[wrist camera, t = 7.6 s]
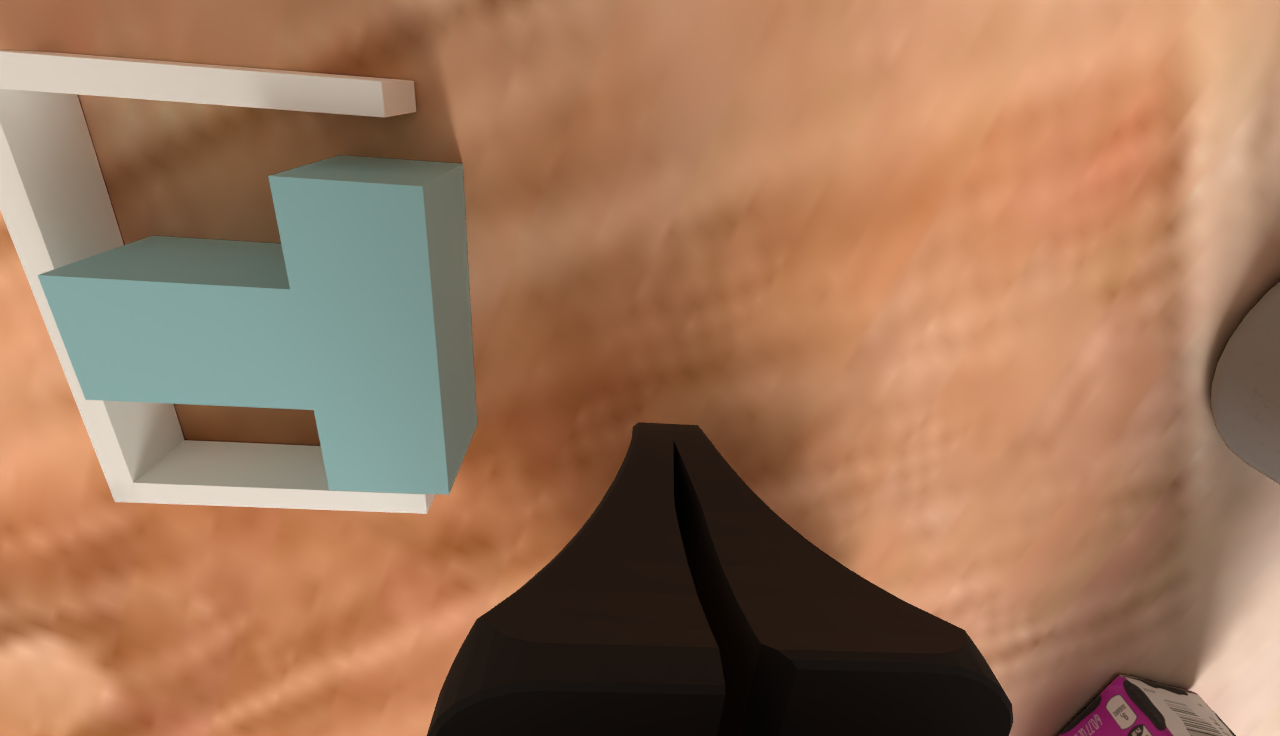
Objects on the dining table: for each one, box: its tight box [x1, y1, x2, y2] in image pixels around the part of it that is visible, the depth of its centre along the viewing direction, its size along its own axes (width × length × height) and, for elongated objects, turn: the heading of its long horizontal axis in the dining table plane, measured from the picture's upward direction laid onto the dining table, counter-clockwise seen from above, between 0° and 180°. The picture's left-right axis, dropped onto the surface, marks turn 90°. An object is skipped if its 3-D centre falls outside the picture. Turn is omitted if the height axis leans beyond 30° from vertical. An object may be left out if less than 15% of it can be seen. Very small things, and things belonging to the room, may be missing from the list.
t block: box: [38, 155, 477, 495], centre depth 17 cm, size 10×9×4 cm
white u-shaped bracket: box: [0, 49, 436, 514], centre depth 18 cm, size 10×13×2 cm
